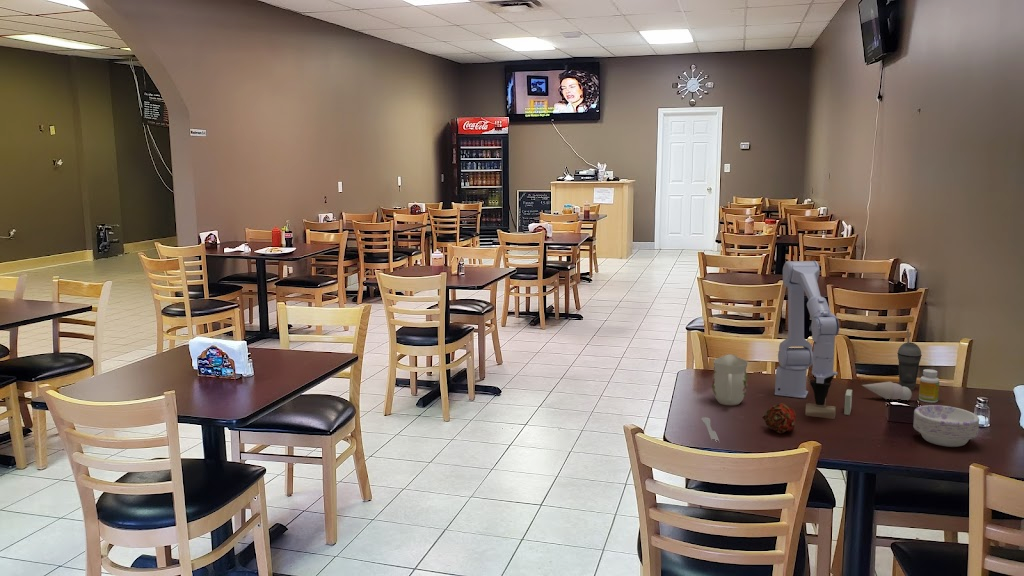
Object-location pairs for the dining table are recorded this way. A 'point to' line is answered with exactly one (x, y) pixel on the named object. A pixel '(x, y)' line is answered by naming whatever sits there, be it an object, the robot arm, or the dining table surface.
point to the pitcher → (729, 379)
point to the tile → (848, 402)
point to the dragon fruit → (780, 418)
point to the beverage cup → (908, 363)
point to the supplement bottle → (929, 386)
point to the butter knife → (711, 433)
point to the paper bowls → (945, 425)
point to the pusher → (820, 410)
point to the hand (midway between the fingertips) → (821, 401)
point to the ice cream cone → (890, 390)
